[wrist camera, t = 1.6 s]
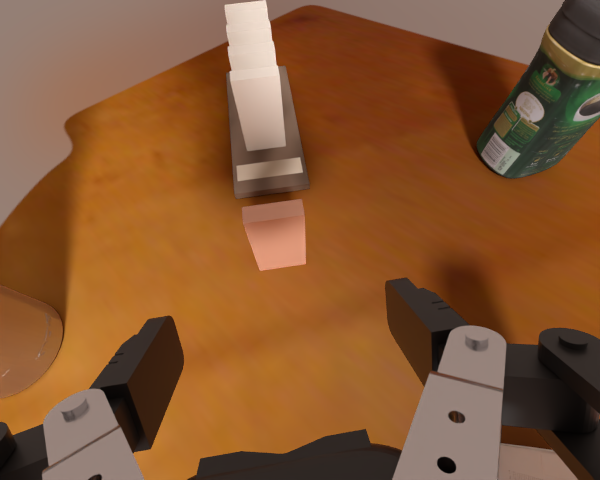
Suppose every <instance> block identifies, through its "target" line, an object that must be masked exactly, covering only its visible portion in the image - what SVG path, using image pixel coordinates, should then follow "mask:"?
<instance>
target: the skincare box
mask: <svg viewBox="0 0 600 480" xmlns="http://www.w3.org/2000/svg"><path fill="white" fill-rule="evenodd" d="M498 480H578V479H577V478H576V477H575V475H574V474H573V473H572V472H571V471H570V469H569V468H568V467H567V466H566V465H565V463H564V462H563V461H562V460H561V459H560V457H559V456H558V455H557V454H556V453H555V452H554V450H549V449H542V448H535V447H528V446H519V445H511V444H504V443H501V446H500V461H499V477H498Z"/></svg>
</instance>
